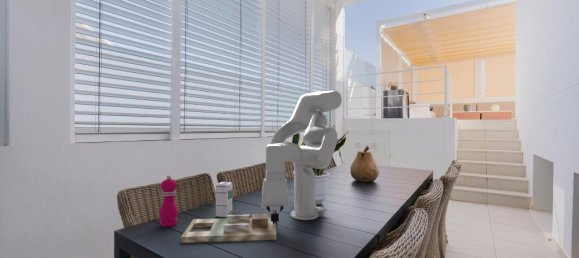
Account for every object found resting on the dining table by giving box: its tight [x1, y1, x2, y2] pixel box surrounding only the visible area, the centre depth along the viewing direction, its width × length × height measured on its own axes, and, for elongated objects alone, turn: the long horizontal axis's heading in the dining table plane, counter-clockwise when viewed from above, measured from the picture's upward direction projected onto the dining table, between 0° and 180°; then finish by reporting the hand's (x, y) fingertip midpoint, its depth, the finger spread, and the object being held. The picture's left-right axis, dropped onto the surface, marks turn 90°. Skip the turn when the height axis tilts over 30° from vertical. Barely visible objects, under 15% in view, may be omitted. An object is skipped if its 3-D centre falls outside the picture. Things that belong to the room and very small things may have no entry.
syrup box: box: [215, 181, 234, 218], centre depth 127 cm, size 6×6×14 cm
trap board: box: [180, 214, 277, 244], centre depth 108 cm, size 33×18×4 cm, turn 96°
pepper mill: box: [158, 174, 179, 228], centre depth 115 cm, size 7×7×20 cm
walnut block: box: [251, 213, 269, 229], centre depth 109 cm, size 6×6×4 cm
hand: (274, 223), depth 109 cm, fingers closed
